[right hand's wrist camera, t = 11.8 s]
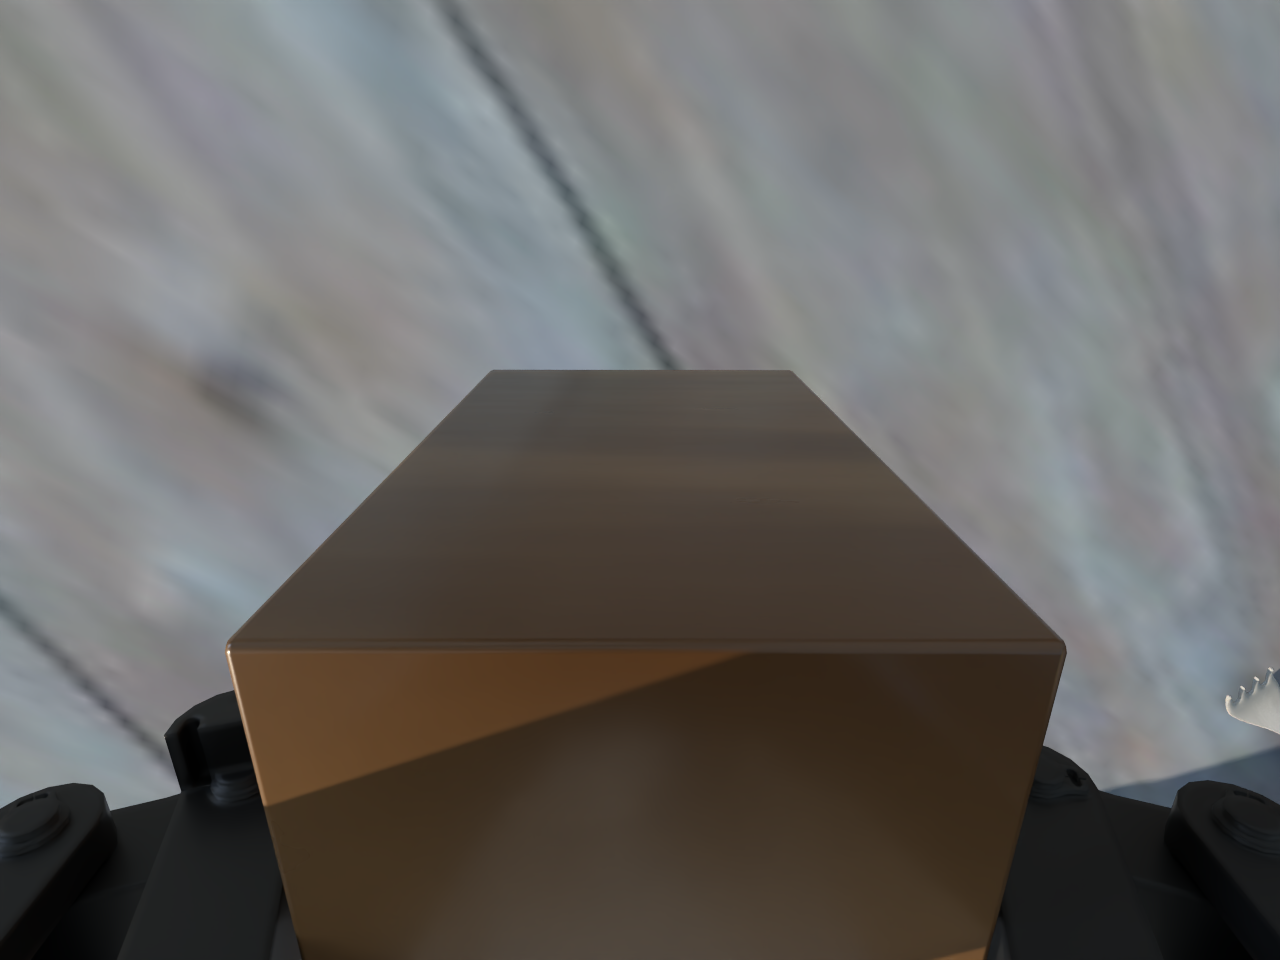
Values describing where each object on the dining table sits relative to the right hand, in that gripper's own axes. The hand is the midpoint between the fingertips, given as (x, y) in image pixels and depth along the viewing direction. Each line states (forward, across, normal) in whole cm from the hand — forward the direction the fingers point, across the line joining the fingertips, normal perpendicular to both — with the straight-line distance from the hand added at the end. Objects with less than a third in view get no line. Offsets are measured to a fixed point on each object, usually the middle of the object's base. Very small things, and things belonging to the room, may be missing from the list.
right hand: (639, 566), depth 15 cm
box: (+1, 0, -8) cm, 8 cm away
